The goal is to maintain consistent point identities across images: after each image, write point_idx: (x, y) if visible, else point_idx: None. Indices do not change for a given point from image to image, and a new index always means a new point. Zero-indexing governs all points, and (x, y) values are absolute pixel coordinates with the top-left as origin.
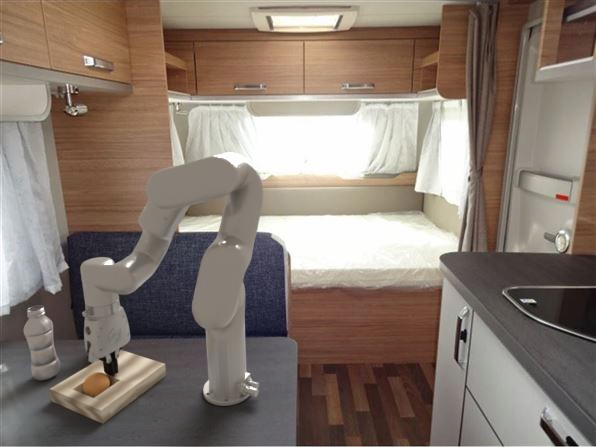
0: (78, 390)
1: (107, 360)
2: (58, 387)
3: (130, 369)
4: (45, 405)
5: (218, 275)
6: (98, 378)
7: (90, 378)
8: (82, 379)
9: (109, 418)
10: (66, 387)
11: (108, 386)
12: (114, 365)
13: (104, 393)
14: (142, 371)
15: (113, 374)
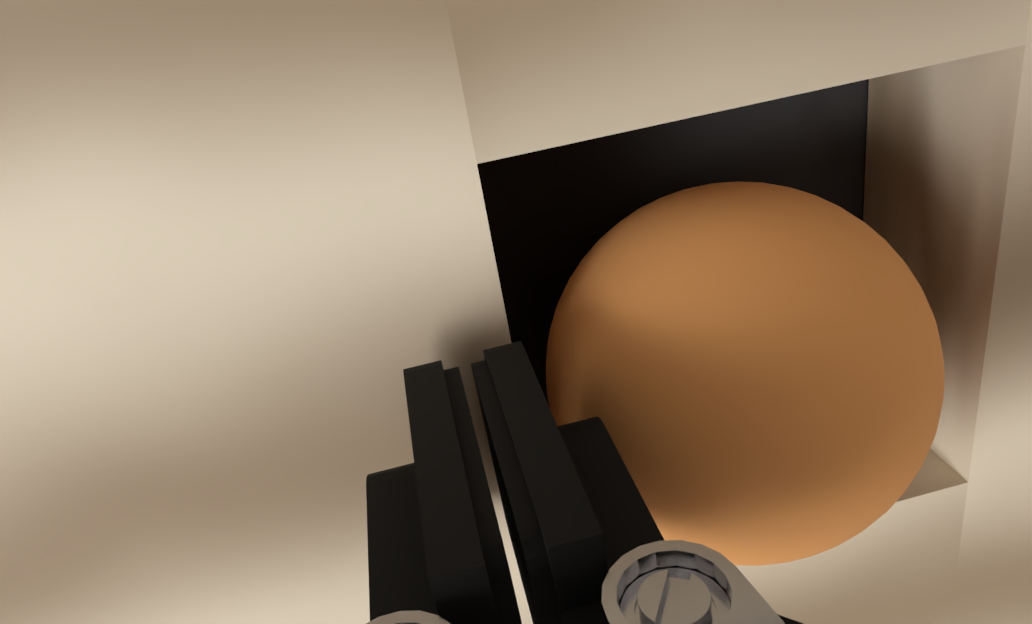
0: None
1: (756, 614)
2: (990, 615)
3: (160, 331)
4: None
5: None
6: (840, 359)
7: (917, 446)
8: (776, 587)
9: None
10: (965, 560)
11: (639, 221)
12: (486, 482)
13: (871, 11)
14: None
15: (522, 350)
